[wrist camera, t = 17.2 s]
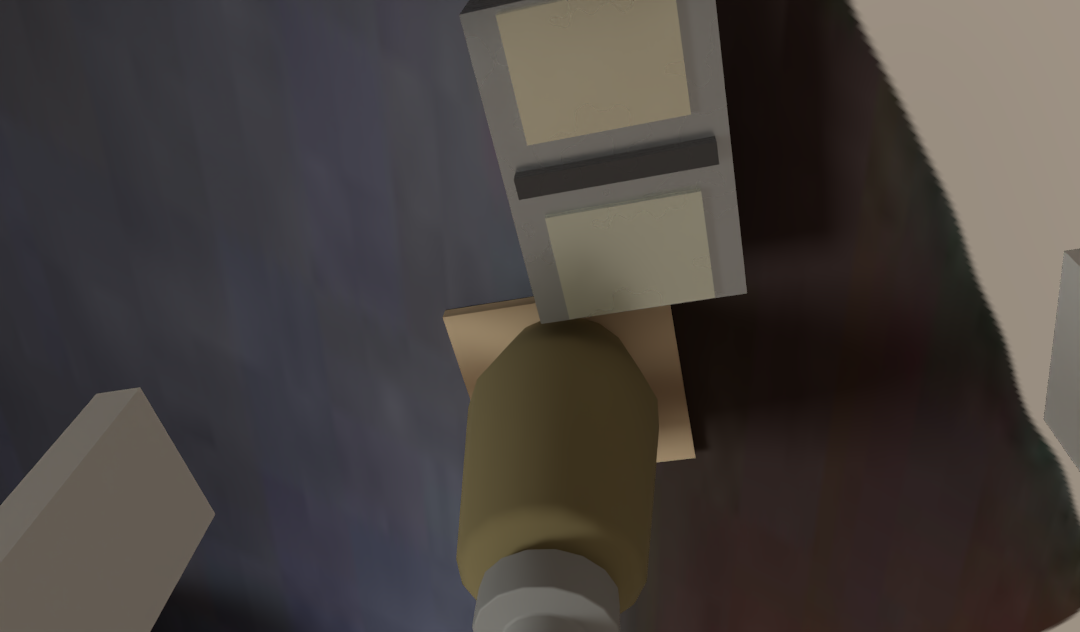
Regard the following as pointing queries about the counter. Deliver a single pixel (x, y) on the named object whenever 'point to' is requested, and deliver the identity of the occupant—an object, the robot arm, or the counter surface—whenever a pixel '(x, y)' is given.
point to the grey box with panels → (611, 149)
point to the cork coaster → (640, 331)
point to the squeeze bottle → (558, 482)
